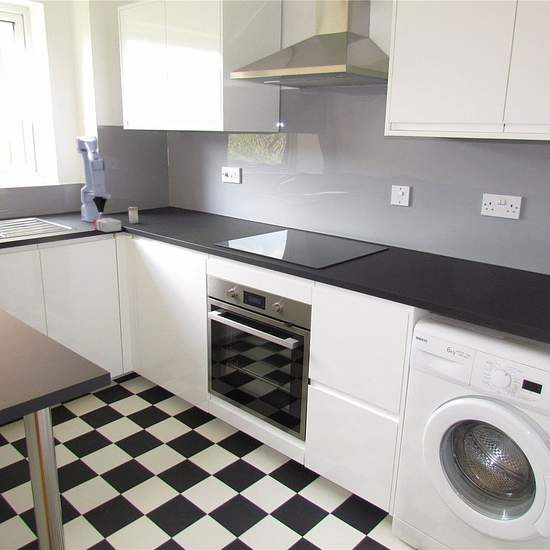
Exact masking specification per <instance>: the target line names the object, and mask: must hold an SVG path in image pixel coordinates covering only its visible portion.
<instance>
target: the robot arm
mask: <svg viewBox="0 0 550 550" xmlns="http://www.w3.org/2000/svg"><path fill="white" fill-rule="evenodd" d="M98 147H99V141H98V137H96V136H77V137H76V149H77V153H78V154H80V155H81V158H82V163H83V164H82V165H83V173H84V181H85V182H84V183H85V185H84V186H83V187H82V188H81V189H80V200H81V203H82V205H81V207H80V209H81V212H80V213H81V219H80V221H82V222H88V223H89V222H91V223H94V220H96V219H101V215H100V214H102V213H104V211H105V205H106V203H107V201H108V199H109V200H110V199H112V194H110V193H106V185H105V183H106V182H105V171H106V169H105V168H106V165H105V161H104V159H103V158H101V155H100V153H99V151H97V150H98Z"/></svg>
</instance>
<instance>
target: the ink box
mask: <svg viewBox="0 0 550 550" xmlns="http://www.w3.org/2000/svg"><path fill="white" fill-rule="evenodd" d="M93 226H94V230H96V231H99V232H104V233H111V232H117V231H122V221H121V220H118V219H114V218H112V217H107V218H106V217H105V218H100V219H96V220H94V222H93Z"/></svg>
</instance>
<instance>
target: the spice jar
mask: <svg viewBox="0 0 550 550" xmlns="http://www.w3.org/2000/svg"><path fill="white" fill-rule="evenodd" d="M127 209H128V219H129V224H138V223H139V215H138V206H137V207H136V206H128V208H127Z"/></svg>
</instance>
